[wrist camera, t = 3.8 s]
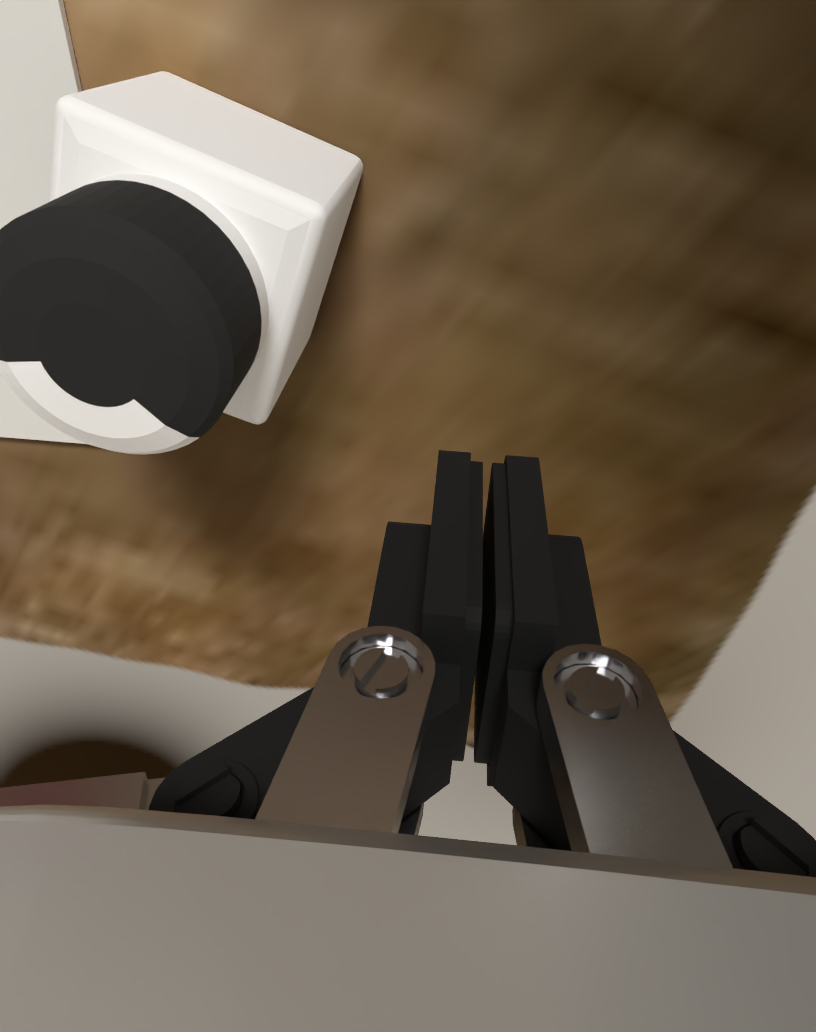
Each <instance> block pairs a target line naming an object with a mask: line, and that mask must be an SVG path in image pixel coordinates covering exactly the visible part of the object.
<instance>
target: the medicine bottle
mask: <svg viewBox="0 0 816 1032" xmlns="http://www.w3.org/2000/svg"><path fill="white" fill-rule="evenodd" d="M362 172H363V164H362V162H361V160H360V159H359V158H358V157H357V156H356V155H353V154H351V153H349V152H347V151H344V150H342V149H340V148H338V147H335V146H333V145H331V144H329V143H326V142H324V141H322V140H320V139H317V138H315V137H313V136H311V135H308V134H306V133H304V132H302V131H299V130H297V129H295V128H293V127H290V126H288V125H286V124H284V123H281V122H279V121H277V120H275V119H272V118H270V117H268V116H266V115H263V114H261V113H259V112H257V111H254V110H252V109H250V108H248V107H245V106H243V105H241V104H239V103H236V102H234V101H232V100H230V99H227V98H225V97H223V96H221V95H218V94H216V93H214V92H211V91H209V90H207V89H205V88H202V87H200V86H198V85H196V84H193V83H191V82H189V81H187V80H184V79H182V78H180V77H178V76H175V75H173V74H171V73H169V72H163V71H161V72H157V73H153V74H149V75H145V76H141V77H137V78H133V79H129V80H125V81H121V82H117V83H113V84H109V85H105V86H101V87H97V88H93V89H89V90H85V91H81V92H77V93H73V94H69V95H65V96H63V97H62V98H60V99H59V100H58V101H57V103H56V106H55V114H54V131H53V148H52V165H51V182H50V199H49V202H48V203H46V204H44V205H42V206H40V207H38V208H36V209H34V210H32V211H30V212H27V213H25V214H23V215H21V216H19V217H17V218H15V219H13V220H12V221H11V222H9V223H8V224H7V225H5V226H4V227H2V228H1V229H0V374H1V376H2V377H3V379H4V380H5V381H6V383H7V384H8V386H9V387H10V388H11V389H12V390H13V392H14V393H15V394H16V395H17V396H18V397H19V398H20V399H21V401H22V402H24V403H25V404H26V405H27V406H28V407H29V408H30V409H31V410H32V411H33V412H34V413H36V414H37V415H38V416H39V417H41V418H42V419H43V420H45V421H46V422H47V423H49V424H50V425H52V426H53V427H55V428H57V429H58V430H60V431H61V432H63V433H65V434H67V435H69V436H71V437H73V438H75V439H77V440H79V441H82V442H84V443H87V444H90V445H92V446H96V447H99V448H103V449H107V450H111V451H115V452H122V453H128V454H156V453H163V452H168V451H172V450H176V449H178V448H181V447H183V446H186V445H188V444H190V443H192V442H193V441H195V440H197V439H198V438H200V437H201V436H202V435H203V434H205V433H206V432H207V431H208V430H209V429H210V428H211V427H212V426H213V425H214V424H215V422H216V421H217V420H218V419H219V417H220V416H221V414H222V413H226V414H229V415H231V416H234V417H236V418H239V419H242V420H244V421H247V422H250V423H252V424H261V423H263V422H265V421H266V420H267V418H268V417H269V415H270V413H271V411H272V409H273V407H274V405H275V403H276V401H277V400H278V398H279V396H280V394H281V392H282V390H283V388H284V386H285V384H286V382H287V380H288V378H289V377H290V375H291V373H292V371H293V369H294V367H295V365H296V363H297V361H298V359H299V357H300V356H301V354H302V352H303V350H304V348H305V346H306V344H307V342H308V340H309V338H310V336H311V333H312V329H313V326H314V323H315V320H316V317H317V314H318V310H319V307H320V304H321V301H322V298H323V295H324V292H325V288H326V285H327V282H328V279H329V276H330V273H331V269H332V266H333V263H334V260H335V257H336V254H337V251H338V247H339V244H340V241H341V238H342V235H343V232H344V228H345V225H346V222H347V219H348V216H349V213H350V210H351V206H352V203H353V200H354V197H355V194H356V191H357V187H358V184H359V181H360V178H361V175H362Z"/></svg>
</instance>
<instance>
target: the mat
mask: <svg viewBox="0 0 816 1032" xmlns="http://www.w3.org/2000/svg"><path fill="white" fill-rule="evenodd" d="M81 91H82V88H81V83H80V78H79V73H78V69H77V64H76V59H75V55H74V50H73V45H72V41H71V36H70V31H69V26H68V22H67V17H66V12H65V8H64V3H63V0H0V229H1V228H2V227H4V226H5V225H7V224H8V223H9V222H11V221H12V220H13V219H15V218H17V217H19V216H21V215H23V214H25V213H27V212H30V211H32V210H34V209H36V208H38V207H40V206H42V205H44V204H46V203H48V202H49V199H50V182H51V165H52V148H53V131H54V114H55V106H56V103H57V101H58V100H59V99H60V98H62V97H63V96H65V95H69V94H73V93H77V92H81ZM0 437H7V438H20V439H32V440H45V441H57V442H69V443H82V444H87V443H84V442H82V441H79V440H77V439H75V438H73V437H71V436H69V435H67V434H65V433H63V432H61V431H60V430H58V429H57V428H55V427H53V426H52V425H50V424H49V423H47V422H46V421H45V420H43V419H42V418H41V417H39V416H38V415H37V414H36V413H34V412H33V411H32V410H31V409H30V408H29V407H28V406H27V405H26V404H25V403H24V402H22V401H21V399H20V398H19V397H18V396H17V395H16V394H15V393H14V392H13V390H12V389H11V388H10V387H9V386H8V384H7V383H6V381H5V380H4V379H3V377H2V376H1V374H0Z"/></svg>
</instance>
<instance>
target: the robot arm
mask: <svg viewBox="0 0 816 1032" xmlns="http://www.w3.org/2000/svg"><path fill="white" fill-rule="evenodd" d="M474 678H475V714H474V762H477V763H486V764H487V786H494V788H495V789H496V790H497V791H498V792H499V793H500V794H501V795H502V796H503V797H504V798H505V799H506V800H507V801H508V802H509V803H510V804H511V805H512V806H513V810H512V811H513V812H512V813H513V828H514V833H515V838H516V843H517V846H516V845H505V844H496V843H486V842H477V841H467V840H457V839H447V838H438V837H428V836H418V833H419V828H420V824H421V820H422V816H423V806H424V802H425V801H427V800H428V799H429V798H430V797H432V796H433V795H434V794H436V793H437V792H438V791H440V790H441V789H442V788H443V787H445V786H446V785H448V784H449V783H450V774H451V766H452V760H455V761H463V759H464V752H465V745H466V738H467V730H468V723H469V715H470V708H471V700H472V693H473V685H474ZM0 1032H816V840H815V839H814V838H813V837H812V836H811V835H810V834H809V833H807V832H806V831H805V830H804V829H803V828H802V827H801V826H800V825H798V823H796V822H795V821H794V820H792V819H791V818H790V817H788V816H787V815H786V814H784V813H783V812H782V811H780V810H779V809H778V808H776V807H775V806H774V805H772V804H771V803H770V802H768V801H767V800H766V799H764V798H763V797H762V796H760V795H759V794H758V793H756V792H755V791H753V790H752V789H751V788H750V787H748V786H747V785H745V784H744V783H743V782H742V781H740V780H739V779H738V778H736V777H735V776H734V775H732V774H731V773H729V772H728V771H727V770H726V769H724V768H723V767H722V766H720V765H719V764H717V763H716V762H715V761H714V760H712V759H711V758H710V757H708V756H707V755H705V754H704V753H703V752H702V751H700V750H699V749H697V748H696V747H695V746H694V745H692V744H691V743H690V742H688V741H687V740H685V739H684V738H683V737H681V736H680V735H679V734H677V733H676V732H675V731H673V730H672V728H671V726H670V723H669V721H668V719H667V717H666V714H665V712H664V710H663V707H662V705H661V703H660V701H659V698H658V696H657V694H656V692H655V689H654V687H653V685H652V683H651V681H650V679H649V678H648V676H647V675H646V673H645V672H644V670H643V669H642V668H641V667H640V666H639V665H637V664H636V663H635V662H634V661H633V660H632V659H631V658H629V657H627V656H625V655H624V654H622V653H620V652H618V651H616V650H614V649H610V648H607V647H604V646H601V640H600V635H599V629H598V624H597V619H596V613H595V608H594V603H593V597H592V592H591V587H590V581H589V576H588V570H587V565H586V560H585V554H584V549H583V544H582V541H581V539H580V538H579V537H575V536H562V535H550V534H548V528H547V520H546V512H545V504H544V496H543V488H542V480H541V471H540V463H539V458H535V457H522V456H508V455H506V456H505V460H504V464H502V463H492V468H491V476H490V484H489V492H488V500H487V508H486V517H485V525H484V533H483V462H475V461H471V453H468V452H455V451H442V450H439V455H438V465H437V475H436V485H435V494H434V504H433V514H432V524H431V525H425V524H412V523H400V522H388V523H387V527H386V532H385V538H384V543H383V548H382V553H381V559H380V564H379V569H378V575H377V580H376V585H375V591H374V596H373V601H372V606H371V612H370V617H369V622H368V627H367V628H362V629H359V630H357V631H354V632H352V633H349V634H348V635H346V636H345V637H344V638H343V639H341V640H340V641H339V642H337V643H336V645H335V646H334V648H333V649H332V651H331V652H330V654H329V656H328V658H327V660H326V662H325V665H324V667H323V669H322V671H321V674H320V676H319V678H318V680H317V682H316V685H315V687H313V688H311V689H310V690H308V691H306V692H304V693H303V694H301V695H299V696H297V697H296V698H294V699H292V700H291V701H289V702H287V703H285V704H284V705H282V706H280V707H279V708H277V709H276V710H273V711H272V712H270V713H268V714H266V715H265V716H263V717H261V718H260V719H258V720H256V721H254V722H253V723H251V724H249V725H247V726H246V727H244V728H242V729H241V730H239V731H237V732H235V733H234V734H232V735H230V736H228V737H227V738H225V739H223V740H222V741H220V742H218V743H216V744H215V745H213V746H212V747H210V748H208V749H206V750H204V751H203V752H201V753H199V754H197V755H196V756H194V757H192V758H191V759H189V760H187V761H185V762H184V763H182V764H181V765H180V766H179V767H177V768H176V769H174V770H173V771H172V772H171V773H169V774H168V775H167V776H166V778H159V779H150V780H147V778H146V774H145V772H140V773H132V774H123V775H115V776H105V777H96V778H87V779H78V780H69V781H60V782H51V783H42V784H33V785H24V786H16V787H6V788H0Z"/></svg>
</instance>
